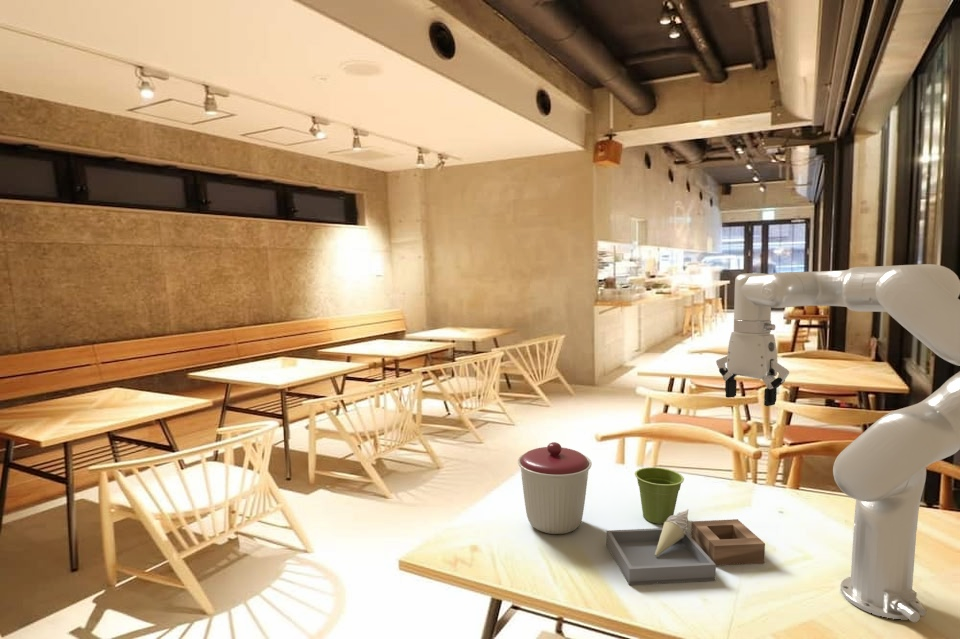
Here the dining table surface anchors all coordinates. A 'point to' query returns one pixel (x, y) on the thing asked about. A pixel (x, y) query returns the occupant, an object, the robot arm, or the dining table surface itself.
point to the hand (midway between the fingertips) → (749, 400)
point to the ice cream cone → (672, 531)
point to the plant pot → (658, 492)
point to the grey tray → (658, 558)
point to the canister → (554, 487)
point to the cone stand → (728, 542)
